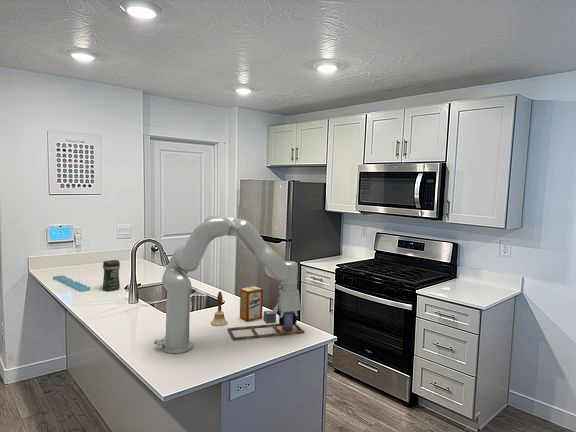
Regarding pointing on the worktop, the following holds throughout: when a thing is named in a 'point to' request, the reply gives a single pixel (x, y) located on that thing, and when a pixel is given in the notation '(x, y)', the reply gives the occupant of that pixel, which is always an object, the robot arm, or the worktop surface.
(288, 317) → the blue cylinder
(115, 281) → the coffee jar
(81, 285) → the letter sign
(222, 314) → the hand bell
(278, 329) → the board
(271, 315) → the die
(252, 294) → the baking soda box
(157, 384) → the worktop surface
